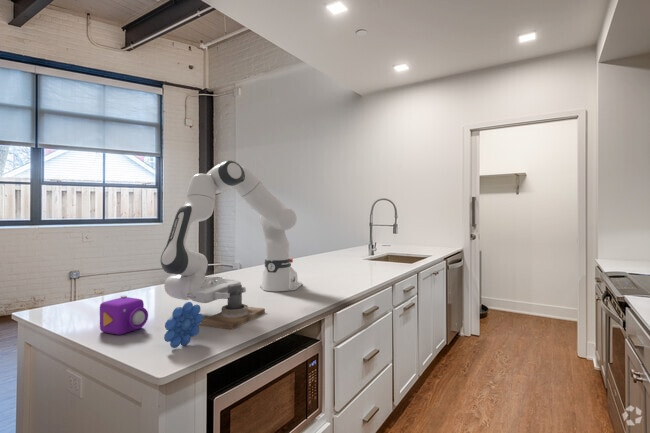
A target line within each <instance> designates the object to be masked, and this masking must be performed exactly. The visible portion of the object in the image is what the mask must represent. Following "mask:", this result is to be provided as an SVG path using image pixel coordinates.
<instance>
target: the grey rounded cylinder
mask: <svg viewBox="0 0 650 433" xmlns="http://www.w3.org/2000/svg"><path fill="white" fill-rule="evenodd" d="M242 287H243V285H242V283H241V284H230V285H228V293H230V298H228V299H227V305H228V309H230V310H236V309H242V304H243V302H242V301H243V295H242V294H243V293H242Z"/></svg>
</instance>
